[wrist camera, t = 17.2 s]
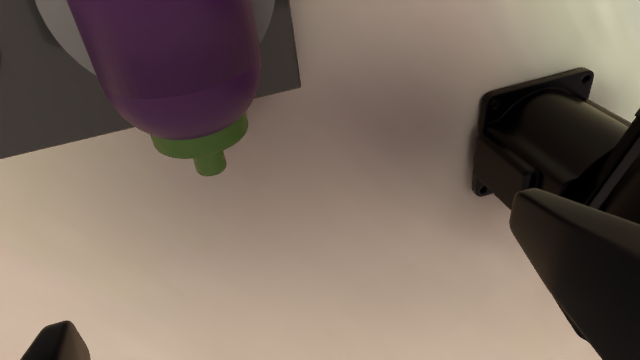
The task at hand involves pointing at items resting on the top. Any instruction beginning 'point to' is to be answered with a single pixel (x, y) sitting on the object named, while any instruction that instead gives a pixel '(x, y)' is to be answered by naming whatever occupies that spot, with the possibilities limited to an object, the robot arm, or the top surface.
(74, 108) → the stove
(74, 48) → the burners
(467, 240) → the top surface
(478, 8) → the top surface
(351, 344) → the top surface
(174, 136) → the eggplant
